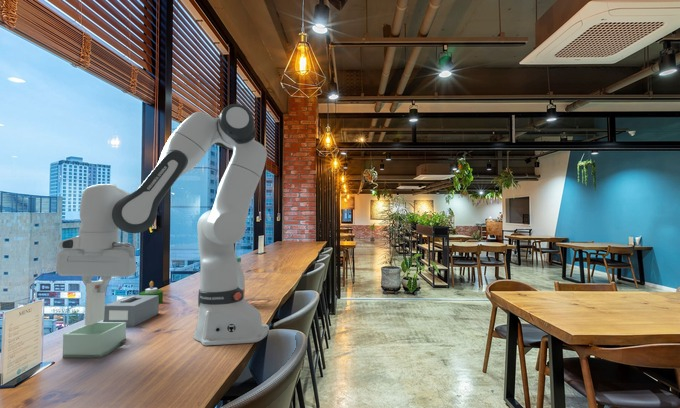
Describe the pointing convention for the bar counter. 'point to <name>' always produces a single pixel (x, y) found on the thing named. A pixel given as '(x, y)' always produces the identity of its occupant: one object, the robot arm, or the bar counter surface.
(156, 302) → the block
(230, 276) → the robot arm
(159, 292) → the candle
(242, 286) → the milk bottle
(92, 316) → the pale bar
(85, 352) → the stub box
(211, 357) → the bar counter surface
